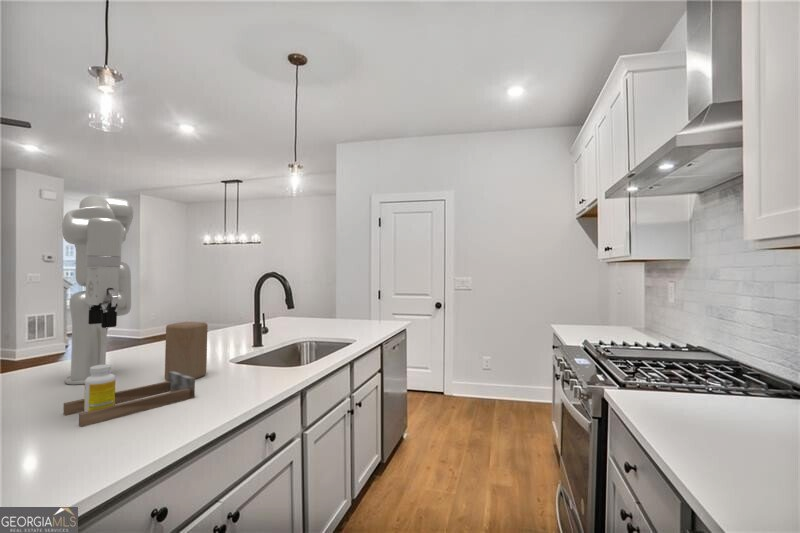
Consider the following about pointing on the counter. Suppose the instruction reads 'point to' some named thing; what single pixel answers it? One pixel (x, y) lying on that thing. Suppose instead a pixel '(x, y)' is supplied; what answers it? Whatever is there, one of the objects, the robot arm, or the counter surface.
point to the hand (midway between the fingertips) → (102, 325)
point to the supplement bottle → (99, 388)
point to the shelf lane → (176, 383)
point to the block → (186, 349)
